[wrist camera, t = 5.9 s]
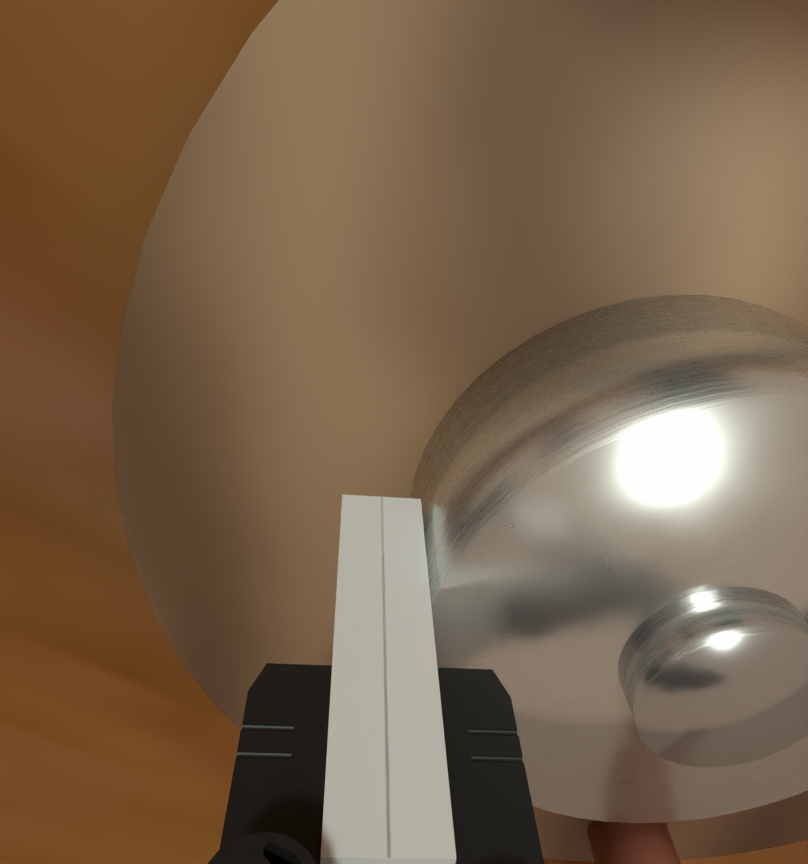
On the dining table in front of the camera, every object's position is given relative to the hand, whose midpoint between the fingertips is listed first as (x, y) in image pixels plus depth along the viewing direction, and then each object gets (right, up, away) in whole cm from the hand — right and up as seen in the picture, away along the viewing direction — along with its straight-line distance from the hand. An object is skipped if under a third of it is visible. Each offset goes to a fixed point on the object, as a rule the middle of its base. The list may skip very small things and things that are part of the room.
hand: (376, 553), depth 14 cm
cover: (+6, +1, +2) cm, 6 cm away
